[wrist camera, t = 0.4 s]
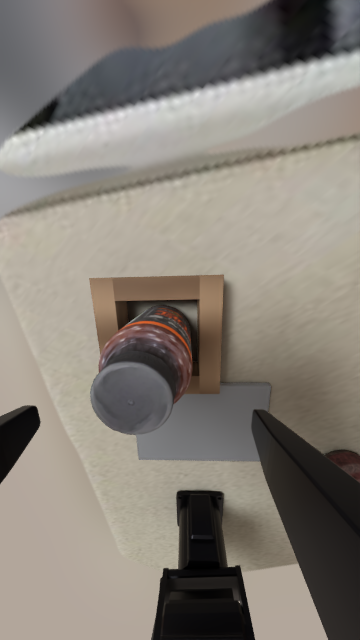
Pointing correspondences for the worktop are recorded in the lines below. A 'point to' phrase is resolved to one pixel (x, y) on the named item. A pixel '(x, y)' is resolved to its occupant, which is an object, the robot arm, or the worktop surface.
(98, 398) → the supplement bottle
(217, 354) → the walnut holder
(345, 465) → the can
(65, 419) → the worktop surface
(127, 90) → the worktop surface
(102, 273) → the worktop surface
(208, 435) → the grey rubber mat
